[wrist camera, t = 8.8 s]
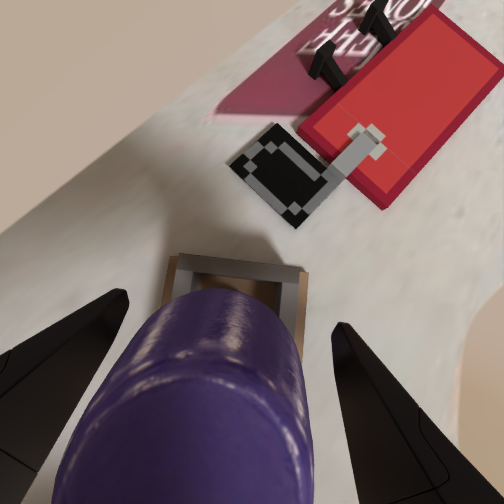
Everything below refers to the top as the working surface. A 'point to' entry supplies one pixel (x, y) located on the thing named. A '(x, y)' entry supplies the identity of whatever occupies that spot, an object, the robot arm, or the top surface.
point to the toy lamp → (197, 413)
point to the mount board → (244, 285)
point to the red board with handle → (375, 116)
